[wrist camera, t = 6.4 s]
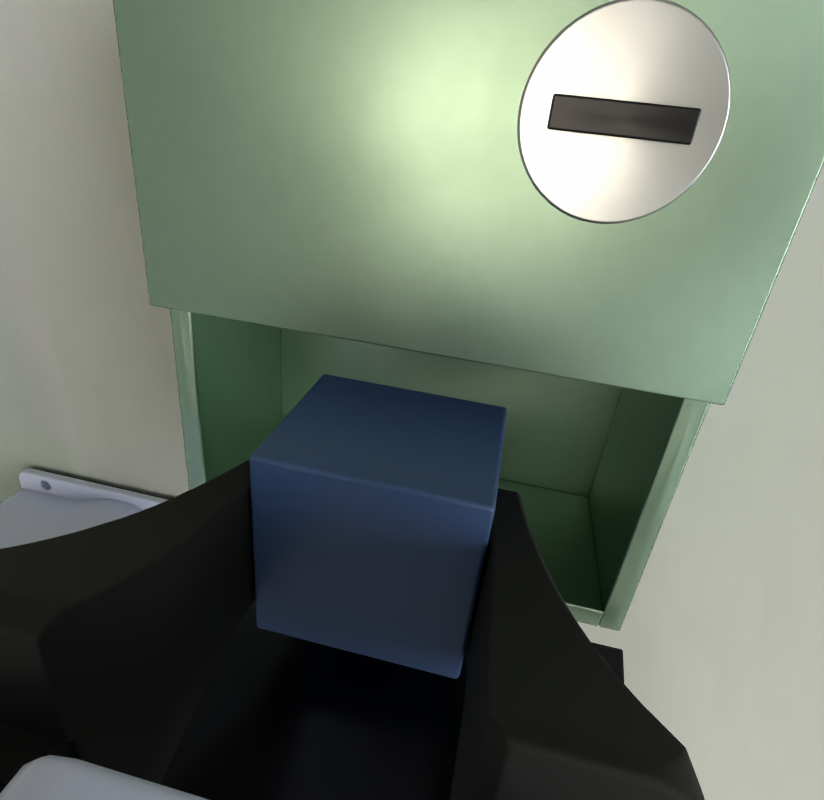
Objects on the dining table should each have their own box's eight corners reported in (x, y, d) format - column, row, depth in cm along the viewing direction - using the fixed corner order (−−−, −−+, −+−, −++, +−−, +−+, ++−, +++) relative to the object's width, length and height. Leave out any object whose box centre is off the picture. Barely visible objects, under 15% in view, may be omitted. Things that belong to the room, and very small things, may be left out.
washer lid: (623, 649, 15) (618, 654, 15) (180, 542, 17) (183, 549, 17) (640, 1073, 10) (633, 1069, 10) (-6, 851, 11) (3, 853, 12)
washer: (599, 503, 21) (623, 655, 15) (274, 437, 23) (177, 548, 17) (753, 27, 14) (918, -54, 8) (267, -14, 16) (96, -105, 10)
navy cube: (318, 517, 16) (254, 629, 12) (322, 372, 14) (246, 456, 10) (477, 553, 15) (458, 681, 12) (508, 406, 13) (495, 509, 9)
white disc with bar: (199, 161, 12) (150, 165, 10) (186, -23, 10) (125, -49, 9) (674, 224, 10) (696, 240, 9) (736, 22, 9) (776, 0, 7)
